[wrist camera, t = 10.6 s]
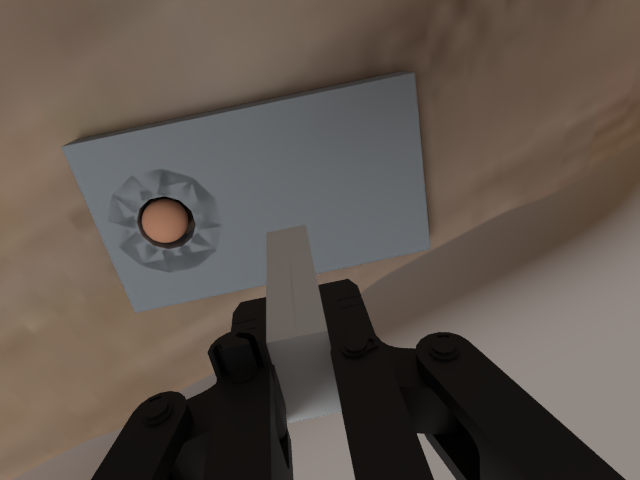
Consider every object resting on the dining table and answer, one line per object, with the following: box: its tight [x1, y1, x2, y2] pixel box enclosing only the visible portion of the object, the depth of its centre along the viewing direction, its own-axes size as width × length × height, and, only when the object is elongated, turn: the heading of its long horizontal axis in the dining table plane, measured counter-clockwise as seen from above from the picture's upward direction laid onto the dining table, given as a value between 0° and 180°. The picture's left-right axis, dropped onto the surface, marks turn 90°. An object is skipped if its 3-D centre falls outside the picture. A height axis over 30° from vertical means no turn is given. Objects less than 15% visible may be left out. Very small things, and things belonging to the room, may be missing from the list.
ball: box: [142, 199, 188, 243], centre depth 34 cm, size 3×3×3 cm
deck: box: [62, 71, 430, 313], centre depth 34 cm, size 25×14×2 cm, turn 101°
